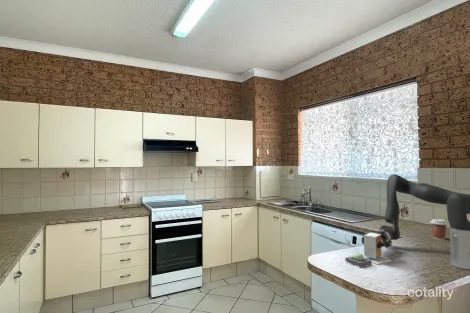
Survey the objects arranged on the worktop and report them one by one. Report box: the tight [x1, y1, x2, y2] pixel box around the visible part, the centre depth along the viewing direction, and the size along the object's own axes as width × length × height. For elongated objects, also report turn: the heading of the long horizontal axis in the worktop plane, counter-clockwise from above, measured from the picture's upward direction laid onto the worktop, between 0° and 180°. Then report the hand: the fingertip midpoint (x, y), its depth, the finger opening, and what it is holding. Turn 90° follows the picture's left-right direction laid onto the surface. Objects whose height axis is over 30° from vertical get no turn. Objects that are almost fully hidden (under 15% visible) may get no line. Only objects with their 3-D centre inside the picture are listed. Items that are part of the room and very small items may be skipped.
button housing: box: [344, 255, 373, 268], centre depth 129 cm, size 8×8×2 cm
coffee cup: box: [429, 218, 449, 241], centre depth 177 cm, size 9×9×12 cm
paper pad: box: [363, 256, 393, 266], centre depth 134 cm, size 11×11×1 cm
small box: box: [363, 232, 382, 259], centre depth 135 cm, size 8×6×10 cm
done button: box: [352, 252, 364, 261], centre depth 129 cm, size 4×4×2 cm
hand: (371, 244), depth 134 cm, fingers closed on small box, 6 cm apart
